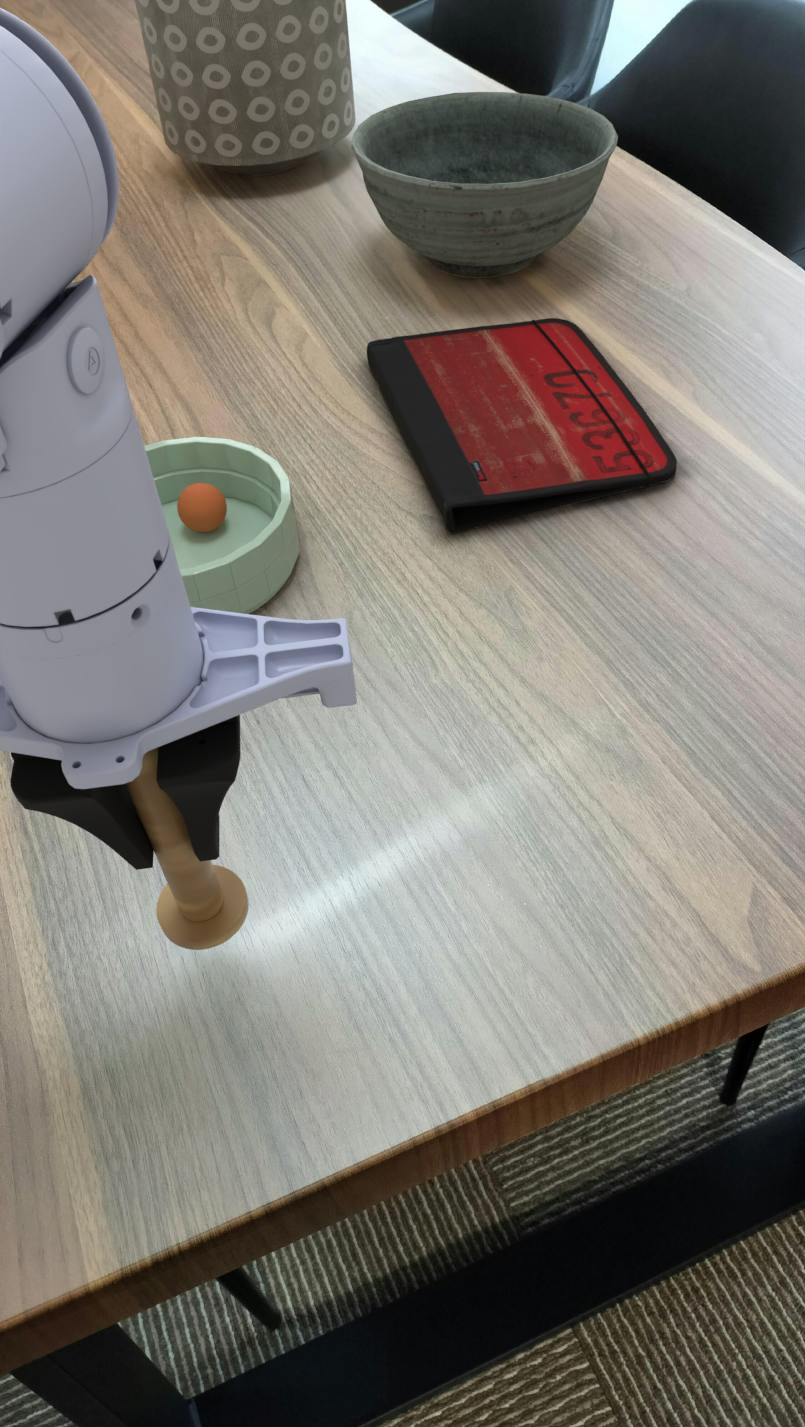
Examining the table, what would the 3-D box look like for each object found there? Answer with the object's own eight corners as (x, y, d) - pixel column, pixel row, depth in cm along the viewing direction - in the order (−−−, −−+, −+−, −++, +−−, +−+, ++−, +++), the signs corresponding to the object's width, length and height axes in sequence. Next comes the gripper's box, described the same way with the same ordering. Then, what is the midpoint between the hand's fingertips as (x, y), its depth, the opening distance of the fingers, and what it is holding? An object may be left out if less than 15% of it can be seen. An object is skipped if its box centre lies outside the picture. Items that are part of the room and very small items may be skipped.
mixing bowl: (75, 650, 58) (50, 591, 55) (94, 508, 67) (74, 450, 64) (305, 622, 59) (295, 562, 56) (295, 485, 68) (285, 425, 64)
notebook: (446, 505, 61) (364, 338, 75) (446, 536, 63) (365, 367, 77) (693, 461, 64) (570, 307, 78) (686, 493, 66) (566, 336, 79)
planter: (397, 150, 104) (384, -72, 90) (255, 216, 95) (218, -17, 82) (272, 111, 113) (244, -95, 99) (133, 168, 104) (81, -48, 91)
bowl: (318, 293, 85) (303, 165, 77) (422, 191, 97) (417, 71, 89) (558, 335, 78) (566, 200, 71) (637, 220, 90) (651, 94, 83)
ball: (180, 544, 63) (160, 497, 62) (204, 529, 66) (185, 484, 65) (219, 531, 62) (199, 484, 61) (242, 517, 64) (223, 471, 63)
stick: (157, 955, 40) (73, 785, 32) (161, 877, 42) (84, 699, 34) (249, 944, 40) (189, 771, 32) (248, 866, 43) (192, 687, 34)
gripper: (-259, 698, 25) (-42, 967, 35) (344, 624, 25) (384, 910, 35) (-182, 516, 29) (-10, 800, 39) (325, 457, 30) (365, 752, 40)
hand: (176, 842), depth 38 cm, fingers closed on stick, 2 cm apart
